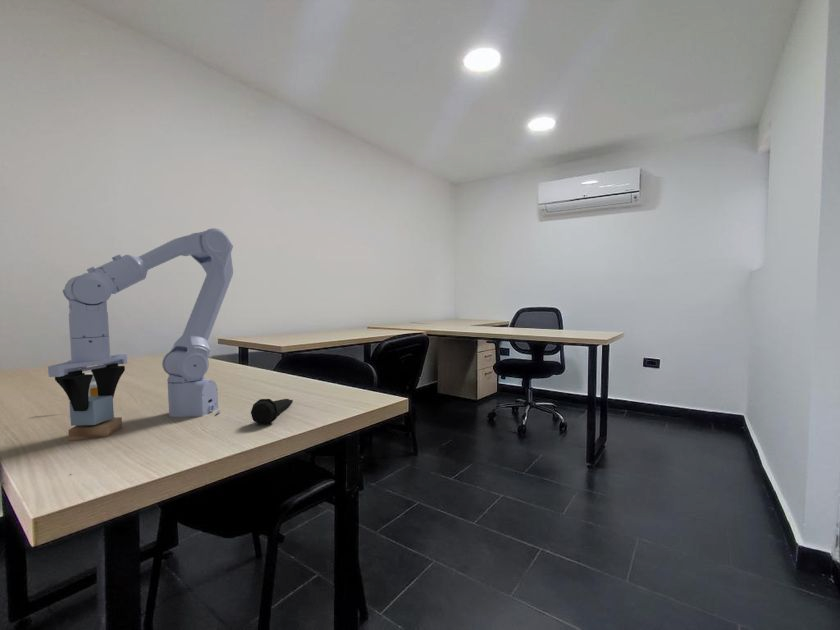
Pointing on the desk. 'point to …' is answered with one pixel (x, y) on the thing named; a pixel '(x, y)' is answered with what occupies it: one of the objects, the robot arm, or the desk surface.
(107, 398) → the cube
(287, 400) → the microphone
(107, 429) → the tower mid
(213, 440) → the desk surface
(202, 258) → the robot arm
